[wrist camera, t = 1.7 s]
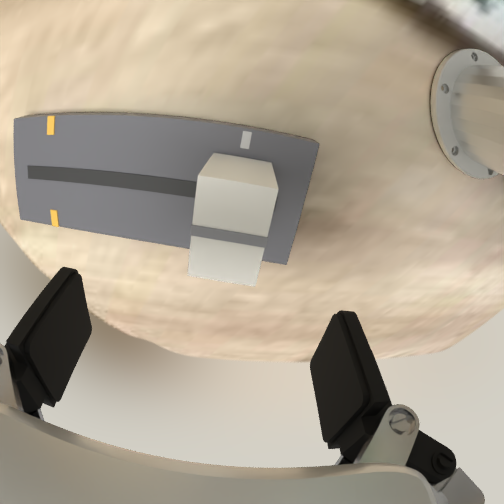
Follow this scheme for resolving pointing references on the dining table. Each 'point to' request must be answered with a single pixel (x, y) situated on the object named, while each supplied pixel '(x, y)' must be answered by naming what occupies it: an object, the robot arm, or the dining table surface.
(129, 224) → the slider panel
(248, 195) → the fader tab
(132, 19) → the dining table surface
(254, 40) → the dining table surface
